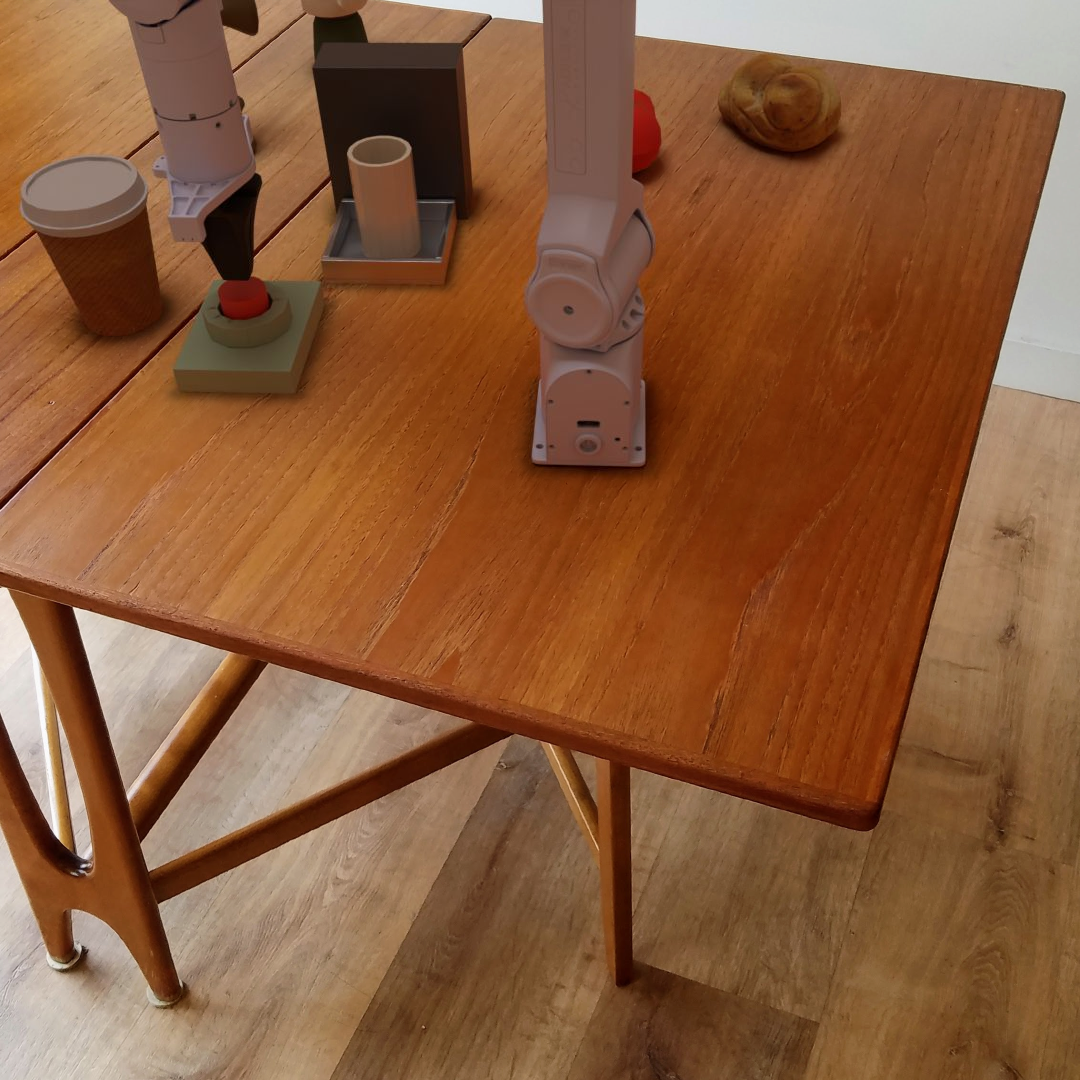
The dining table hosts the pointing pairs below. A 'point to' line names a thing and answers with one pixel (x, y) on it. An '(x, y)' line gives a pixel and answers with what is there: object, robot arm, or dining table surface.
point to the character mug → (336, 21)
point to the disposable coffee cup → (98, 238)
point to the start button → (243, 298)
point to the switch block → (252, 342)
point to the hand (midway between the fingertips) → (238, 275)
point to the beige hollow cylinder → (385, 197)
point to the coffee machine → (398, 112)
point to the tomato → (644, 132)
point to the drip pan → (424, 268)
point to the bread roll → (781, 103)
